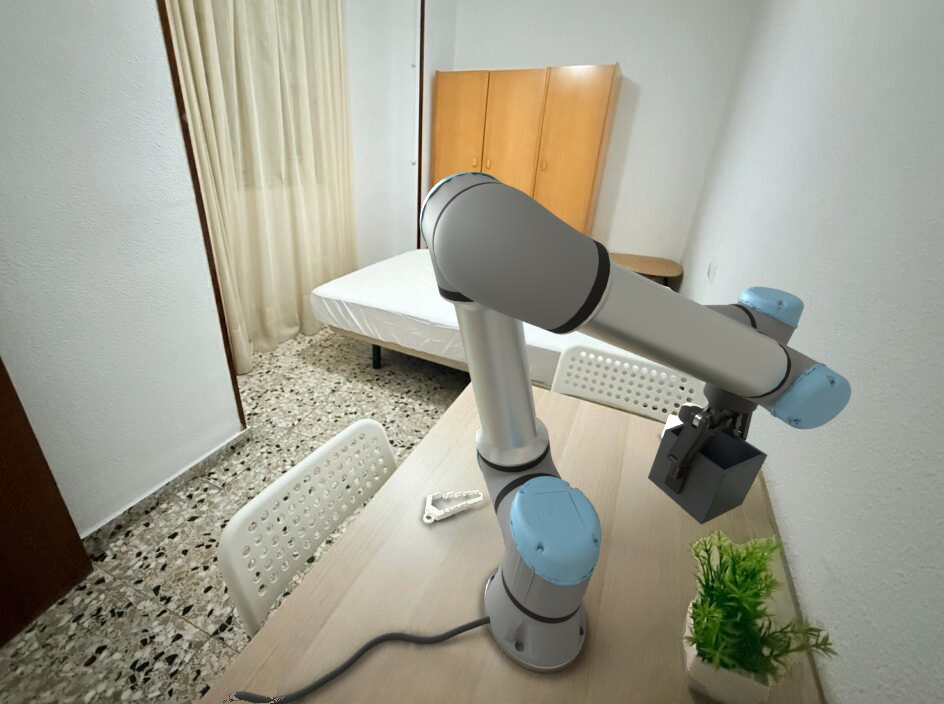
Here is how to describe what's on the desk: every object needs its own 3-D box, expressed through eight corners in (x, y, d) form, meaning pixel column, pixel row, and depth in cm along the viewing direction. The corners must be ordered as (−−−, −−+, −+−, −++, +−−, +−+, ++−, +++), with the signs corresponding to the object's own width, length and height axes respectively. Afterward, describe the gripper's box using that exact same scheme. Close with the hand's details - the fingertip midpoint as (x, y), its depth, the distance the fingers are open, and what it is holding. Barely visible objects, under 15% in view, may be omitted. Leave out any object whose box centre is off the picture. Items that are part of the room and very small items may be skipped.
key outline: (473, 485, 85) (474, 479, 84) (485, 503, 81) (486, 497, 80) (416, 504, 80) (416, 498, 79) (425, 525, 76) (426, 519, 75)
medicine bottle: (702, 462, 93) (721, 421, 88) (669, 456, 94) (685, 416, 89) (691, 441, 100) (707, 402, 94) (660, 436, 101) (675, 397, 96)
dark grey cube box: (701, 524, 69) (647, 477, 78) (741, 504, 73) (686, 462, 82) (725, 473, 64) (665, 429, 73) (767, 454, 68) (705, 415, 77)
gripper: (711, 411, 58) (667, 515, 67) (804, 378, 67) (753, 475, 76) (666, 383, 64) (631, 482, 74) (756, 356, 73) (715, 448, 82)
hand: (693, 478), depth 75 cm, fingers closed on dark grey cube box, 11 cm apart
